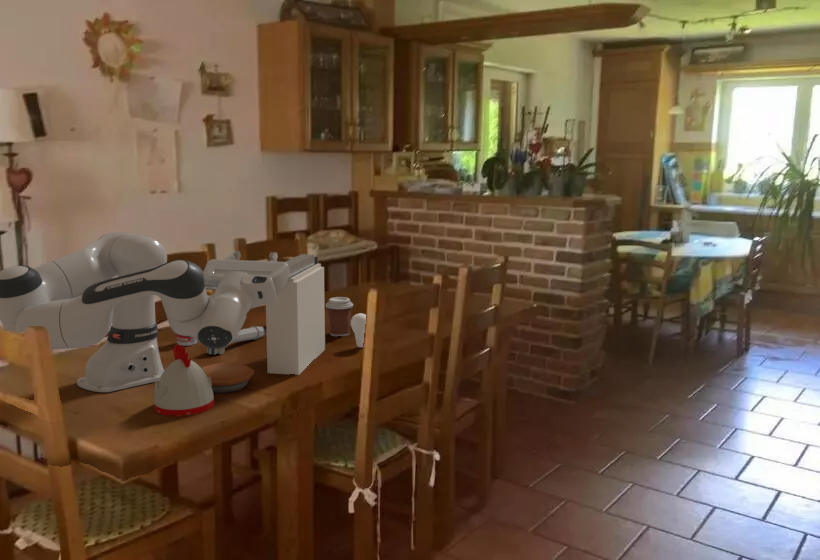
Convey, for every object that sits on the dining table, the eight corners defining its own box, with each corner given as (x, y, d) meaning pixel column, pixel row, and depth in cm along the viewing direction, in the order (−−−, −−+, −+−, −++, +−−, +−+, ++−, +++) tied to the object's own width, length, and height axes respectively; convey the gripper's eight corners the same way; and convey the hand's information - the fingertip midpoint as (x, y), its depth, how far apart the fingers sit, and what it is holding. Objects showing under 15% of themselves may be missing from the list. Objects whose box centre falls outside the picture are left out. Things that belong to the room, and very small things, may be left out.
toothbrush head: (267, 326, 242) (216, 333, 219) (266, 346, 243) (215, 355, 220) (254, 324, 244) (203, 331, 222) (253, 344, 245) (202, 353, 222)
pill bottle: (192, 346, 231) (191, 312, 229) (174, 345, 232) (172, 311, 230) (200, 341, 237) (198, 307, 235) (181, 340, 238) (180, 307, 236)
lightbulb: (365, 351, 228) (365, 316, 226) (347, 349, 230) (347, 314, 228) (373, 346, 234) (373, 312, 232) (355, 344, 235) (355, 310, 233)
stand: (298, 375, 204) (296, 271, 199) (267, 373, 205) (264, 270, 200) (325, 349, 230) (324, 256, 224) (297, 347, 231) (296, 255, 226)
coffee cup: (325, 337, 243) (324, 302, 241) (327, 330, 252) (326, 296, 250) (352, 337, 244) (352, 302, 241) (353, 330, 253) (353, 296, 250)
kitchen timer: (199, 392, 189) (196, 335, 186) (224, 407, 179) (221, 347, 176) (145, 404, 180) (141, 345, 177) (168, 421, 170) (164, 358, 167)
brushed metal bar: (283, 284, 196) (282, 270, 195) (268, 284, 196) (268, 269, 196) (314, 267, 223) (314, 254, 222) (301, 267, 223) (301, 254, 223)
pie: (221, 400, 184) (220, 380, 183) (181, 388, 193) (180, 369, 192) (266, 384, 196) (266, 366, 195) (227, 373, 205) (226, 356, 204)
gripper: (198, 298, 174) (219, 262, 185) (281, 302, 171) (297, 265, 181) (191, 278, 170) (212, 241, 181) (276, 281, 167) (293, 244, 177)
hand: (256, 253), depth 181 cm, fingers open, 8 cm apart
